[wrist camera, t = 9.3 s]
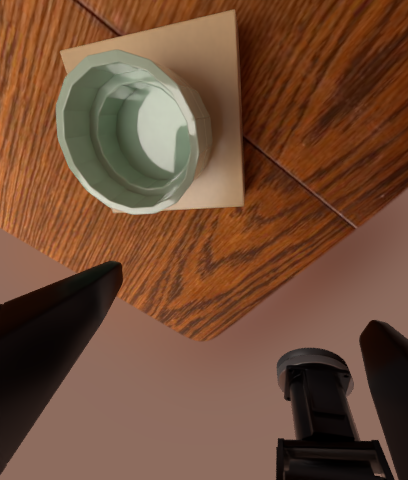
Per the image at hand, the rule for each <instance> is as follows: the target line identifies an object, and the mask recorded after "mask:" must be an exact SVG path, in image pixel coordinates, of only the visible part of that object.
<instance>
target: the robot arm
mask: <svg viewBox="0 0 408 480" xmlns="http://www.w3.org/2000/svg"><path fill="white" fill-rule="evenodd" d="M122 282H123V274H122V264H121V263H120V262H116V261H108V262H105V263H103V264H100V265H98V266H95V267H93V268H90V269H88V270H85V271H83V272H80V273H78V274H75V275H73V276H70V277H68V278H65V279H63V280H60V281H58V282H55V283H53V284H50V285H48V286H45V287H43V288H40V289H38V290H35V291H33V292H30V293H28V294H25V295H23V296H20V297H18V298H15V299H13V300H10V301H8V302H5V303H4V304H0V475H1V473H2V472H3V470H4V469H5V467H6V466H7V463H8V462H9V461H10V459H11V458H12V456H13V455H14V453H15V452H16V450H17V449H18V447H19V446H20V444H21V443H22V441H23V440H24V438H25V437H26V435H27V433H28V432H29V431H30V429H31V428H32V426H33V425H34V423H35V422H36V420H37V419H38V417H39V416H40V414H41V413H42V411H43V410H44V408H45V407H46V405H47V404H48V402H49V401H50V399H51V398H52V396H53V395H54V393H55V392H56V390H57V389H58V387H59V386H60V384H61V383H62V381H63V380H64V379H65V377H66V376H67V374H68V373H69V371H70V370H71V368H72V366H73V365H74V364H75V362H76V361H77V359H78V357H79V356H80V355H81V353H82V352H83V350H84V348H85V347H86V345H87V344H88V343H89V341H90V339H91V338H92V336H93V335H94V334H95V332H96V331H97V329H98V328H99V326H100V324H101V323H102V321H103V319H104V318H105V316H106V314H107V312H108V310H109V309H110V307H111V305H112V303H113V301H114V299H115V297H116V295H117V293H118V291H119V289H120V287H121V285H122ZM359 342H360V347H361V352H362V356H363V361H364V366H365V371H366V375H367V380H368V384H369V388H370V392H371V395H372V398H373V401H374V404H375V407H376V410H377V414H378V417H379V420H380V423H381V426H382V429H383V432H384V435H385V438H386V442H387V445H388V448H389V451H390V454H391V457H392V460H393V464H394V467H395V470H396V473H397V476H398V479H399V480H408V339H407V338H405V337H404V336H403V335H401V334H400V333H399V332H398V331H396V330H395V329H394V328H393V327H391V326H390V325H389V324H388V323H385V322H382V321H377V320H372V321H370V322H369V324H368V325H367V326H366V328H365V329H364V331H363V332H362V333H361V335H360V339H359ZM350 379H351V374H350V372H349V371H348V370H343V369H332V368H321V367H309V366H298V365H287V366H286V372H285V387H284V398H285V400H288V401H291V406H292V414H293V421H294V428H295V436H296V440H284V439H283V438H278V447H276V448H277V461H276V465H277V466H276V470H277V471H276V480H394V477H393V475H392V473H391V470H390V468H389V465H388V463H387V460H386V458H385V455H384V453H383V450H382V448H381V446H380V443H379V441H378V440H371V441H360V438H359V434H358V431H357V429H356V425H355V423H354V419H353V416H352V413H351V410H350V407H349V404H348V401H347V398H346V393H347V389H348V386H349V383H350ZM374 473H378V474H381V476H382V477H380V476H375V475H374Z"/></svg>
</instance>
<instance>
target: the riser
mask: <svg viewBox="0 0 408 480" xmlns="http://www.w3.org/2000/svg"><path fill="white" fill-rule="evenodd" d="M115 49H117V50H118V49H119V50H122V51H125V52H128V53H131V54H134V55H138V56H141V57H144V58H147V59H150V60H152V61H154V62H156V63H158V64H160V65H162V66H164V67H166V68H168V69H170V70H172V71H174V72H176V73H177V74H179V75H180V76H181V77H182V78H184V79H185V80H186V81H187V82H188V83H189V84H190V85H191V86H192V87H193V88H194V89H196V90H197V92H198V93H199V95H200V97H201V99H202V101H203V103H204V105H205V107H206V109H207V111H208V113H209V115H210V119H211V130H212V140H213V142H212V147H211V151H210V155H209V159H208V162H207V165H206V167H205V168H204V170H203V171H202V172H201V173H200V175H199V176H198V177H197V179H196V180H195V181H194V182H193V184H192V185H191V186H190V187H189V189H188V190H187V191H186V192H185V193H184V195H183V196H182V197H181V198H180V200H179V201H178V202H177V203H175V204H173V205H172V206H170V207H168V208H166V209H164V210H162V211H165V210H184V209H202V208H221V207H240V206H244V200H245V177H244V152H243V128H242V104H241V80H240V56H239V32H238V24H237V18H236V12H235V10H229V11H225V12H221V13H217V14H213V15H208V16H204V17H200V18H196V19H192V20H187V21H183V22H179V23H175V24H171V25H166V26H162V27H158V28H154V29H150V30H145V31H141V32H137V33H133V34H129V35H124V36H120V37H116V38H112V39H108V40H103V41H99V42H95V43H91V44H87V45H82V46H78V47H74V48H70V49H66V50H61V51H60V54H61V57H62V60H63V63H64V66H65V69H66V72H67V75H68V74H69V73H70V72H71V71H72V70H73V69H74V68H75V67H76V66H77V65H78V64H79V63H80V62H81V61H82V60H83V59H84V58H85V57H87V56H88V55H93V54H97V53H102V52H106V51H111V50H115ZM112 211H113V213H126V212H123V211H120V210H117V209H114V208H112Z"/></svg>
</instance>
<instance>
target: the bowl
mask: <svg viewBox="0 0 408 480" xmlns="http://www.w3.org/2000/svg"><path fill="white" fill-rule="evenodd" d="M56 121H57V137H58V141H59V143H60V146H61V148H62V151H63V154H64V156H65V159H66V161H67V164H68V166H69V168H70V169H71V171H72V172H73V173H74V175H75V176H76V177H77V179H78V180H79V181H80V183H81V184H82V185H83V187H84V188H85V189H86V190H87V191H88V192H89V193H90V194H92V195H93V196H94V197H96V198H97V199H99V200H100V201H101V202H103V203H104V204H105V205H107V206H109V207H111V208H114V209H117V210H120V211H123V212H126V213H129V214H132V215H136V214H155V213H158V212H160V211H162V210H164V209H166V208H168V207H170V206H172V205H173V204H175V203H177V202H178V201H179V200H180V198H181V197H182V196H183V195H184V193H185V192H186V191H187V190H188V189H189V187H190V186H191V185H192V184H193V182H194V181H195V180H196V179H197V177H198V176H199V175H200V173H201V172H202V171H203V170H204V168H205V167H206V165H207V162H208V159H209V155H210V151H211V147H212V142H213V140H212V130H211V119H210V115H209V113H208V111H207V109H206V107H205V105H204V103H203V101H202V99H201V97H200V95H199V93H198V92H197V90H196V89H194V88H193V87H192V86H191V85H190V84H189V83H188V82H187V81H186V80H185V79H184V78H182V77H181V76H180V75H179V74H177V73H176V72H174V71H172V70H170V69H168V68H166V67H164V66H162V65H160V64H158V63H156V62H154V61H152V60H150V59H147V58H144V57H141V56H138V55H134V54H131V53H128V52H125V51H122V50H119V49H118V50H117V49H115V50H111V51H106V52H102V53H97V54H93V55H88V56H87V57H85V58H84V59H83V60H82V61H81V62H80V63H79V64H78V65H77V66H76V67H75V68H74V69H73V70H72V71H71V72H70V73H69V74H68V75H67V76H66V78H65V79H64V82H63V85H62V88H61V91H60V94H59V98H58V101H57V104H56Z"/></svg>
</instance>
